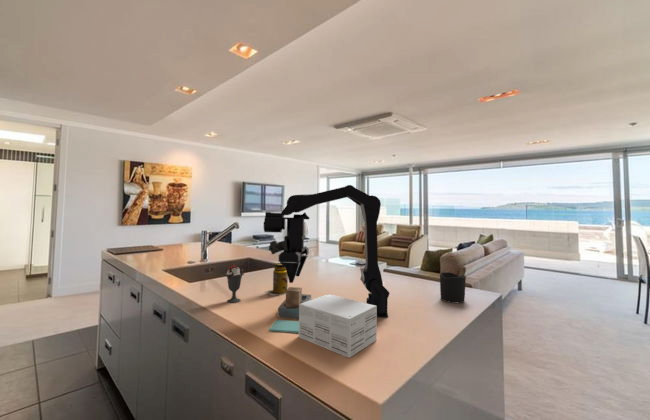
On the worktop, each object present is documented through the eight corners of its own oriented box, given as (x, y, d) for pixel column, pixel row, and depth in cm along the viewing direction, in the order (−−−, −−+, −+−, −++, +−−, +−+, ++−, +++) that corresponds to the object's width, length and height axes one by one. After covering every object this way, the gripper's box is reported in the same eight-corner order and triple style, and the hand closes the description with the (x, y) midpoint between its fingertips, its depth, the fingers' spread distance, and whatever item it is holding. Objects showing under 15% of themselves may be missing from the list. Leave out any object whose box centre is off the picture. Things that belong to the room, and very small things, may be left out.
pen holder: (461, 297, 114) (461, 273, 114) (468, 304, 105) (469, 278, 105) (437, 295, 116) (437, 271, 116) (442, 302, 107) (443, 276, 107)
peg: (301, 311, 94) (301, 287, 94) (298, 315, 90) (299, 291, 90) (288, 310, 95) (289, 287, 95) (285, 315, 90) (285, 290, 90)
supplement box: (377, 340, 74) (378, 305, 74) (349, 359, 64) (349, 318, 64) (328, 323, 84) (329, 292, 85) (297, 337, 74) (298, 302, 75)
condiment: (291, 293, 115) (291, 264, 115) (272, 296, 111) (272, 266, 111) (283, 289, 121) (284, 261, 121) (265, 291, 117) (265, 263, 117)
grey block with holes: (311, 302, 103) (311, 294, 103) (302, 318, 87) (302, 309, 87) (290, 301, 104) (290, 293, 104) (278, 317, 88) (278, 307, 88)
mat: (305, 323, 84) (305, 321, 84) (300, 333, 77) (300, 331, 77) (276, 321, 85) (276, 319, 85) (268, 330, 78) (269, 329, 78)
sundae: (220, 302, 102) (221, 261, 102) (232, 297, 108) (233, 259, 108) (234, 304, 99) (235, 263, 99) (246, 299, 105) (247, 260, 106)
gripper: (279, 230, 103) (279, 272, 103) (262, 234, 84) (261, 285, 84) (309, 231, 102) (308, 273, 101) (298, 235, 83) (297, 287, 83)
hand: (294, 279), depth 92 cm, fingers open, 9 cm apart
